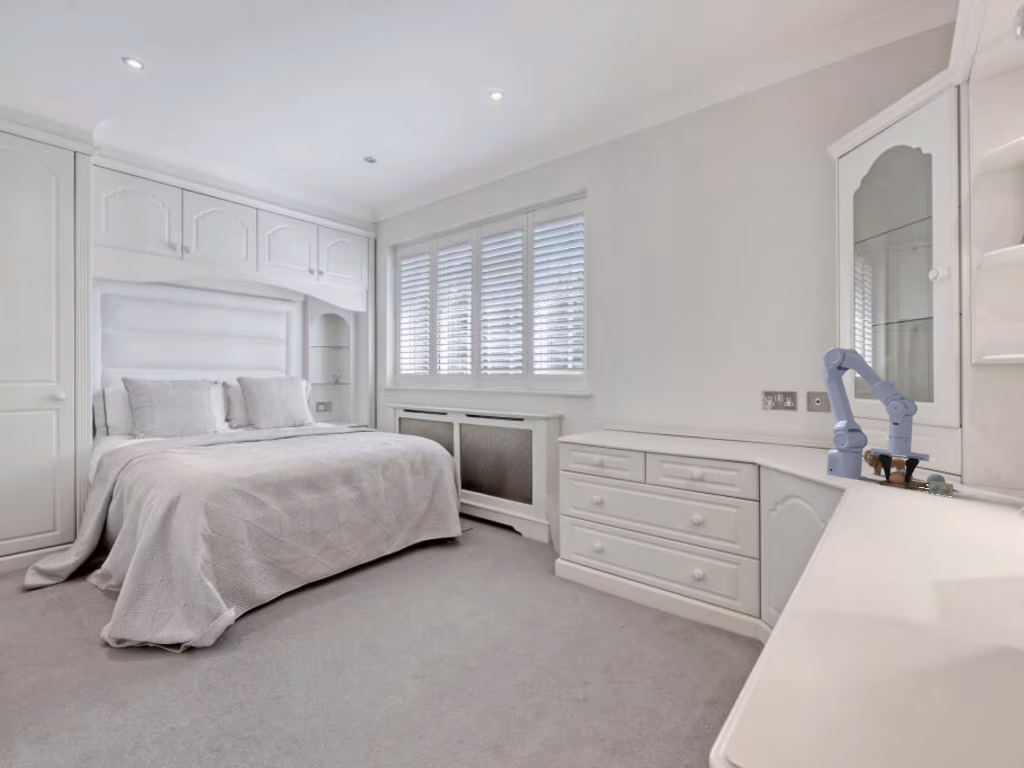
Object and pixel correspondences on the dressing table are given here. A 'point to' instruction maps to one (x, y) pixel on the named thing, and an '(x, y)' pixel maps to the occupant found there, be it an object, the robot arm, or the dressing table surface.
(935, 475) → the grey ball right
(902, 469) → the grey ball left
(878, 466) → the lion figurine
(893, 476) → the terracotta ball
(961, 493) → the dressing table surface
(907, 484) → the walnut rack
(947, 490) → the card
